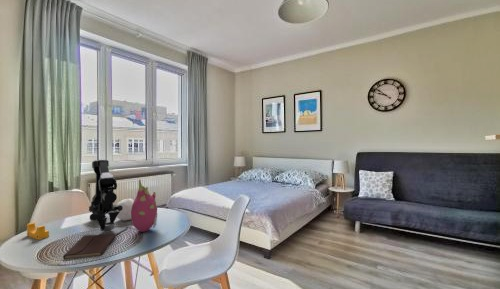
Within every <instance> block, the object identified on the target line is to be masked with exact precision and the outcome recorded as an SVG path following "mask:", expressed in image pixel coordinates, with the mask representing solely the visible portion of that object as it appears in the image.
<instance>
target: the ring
mask: <svg viewBox="0 0 500 289" xmlns="http://www.w3.org/2000/svg"><path fill="white" fill-rule="evenodd" d="M114 227H115V221H114V222H110V221H106V224H105V228H104V230H102V229H101V227H100V226H99V229H100V231H110V230H113V229H114Z"/></svg>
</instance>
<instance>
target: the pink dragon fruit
mask: <svg viewBox="0 0 500 289" xmlns="http://www.w3.org/2000/svg"><path fill="white" fill-rule="evenodd" d="M141 181H142V180H141V179H139V180H138V190H137V192H136V197H135V198H134V199H133V200H134V202H133V205H132V209H131V219H130V220H131V223H132V225H133V226H134V229H136V230H137V231H139V232H141V233H143V232H147V231H149V230H150V229H151V228H153V229H154V228H155V227H156V225H157V220H158V213H157V212H158V205H157V202H156V196H157V195H156V192H155V191H153V193H152V195H151V193H150V192H149V190H148V187H147V186H146V187H145V186H144V185H142V182H141Z"/></svg>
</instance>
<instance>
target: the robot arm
mask: <svg viewBox="0 0 500 289" xmlns="http://www.w3.org/2000/svg"><path fill="white" fill-rule="evenodd" d="M109 164H110V163H109V160H108V159H104V158H103V159H102V158H101V159H98V160H96V159H95V160H93V161H92V163H91V168H92V169H93V172H94V173H95V190H94V195H93V197H92V198H91V201H90V205H89V207H88V211H89V212H90V213H91V214H89V220H90V221H92V220H93V221H97V222H98V224H99V228H100V227H101V229H102V230H104V228H105V224H106V222H107V220H108V217H107V215H108V216H109V222H114V223H115V221H116V219H117V215H118V214H119V213H120V211H121V210H122V206H121V205H117V204H114V203H115V202H116V201H117V198H118V196H117V194H116V192H114V190H115V191H116V190H117V189H118V183H117V180H116V178H114V177H115V176H114V175H113V174H112V173H110V170H109V167H110V165H109Z"/></svg>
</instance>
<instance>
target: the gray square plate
mask: <svg viewBox="0 0 500 289" xmlns="http://www.w3.org/2000/svg"><path fill="white" fill-rule="evenodd" d="M127 229H128V228H127V227H119V226H118V227H117V226H116V227H115V226H114V229H113V230H110V231H100V228H99V229H98V230H96V231H94V232H92V233H90V234H89V235H103V234H116V236H118V235H119V234H121V233H122V232H125V231H126V230H127Z"/></svg>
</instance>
